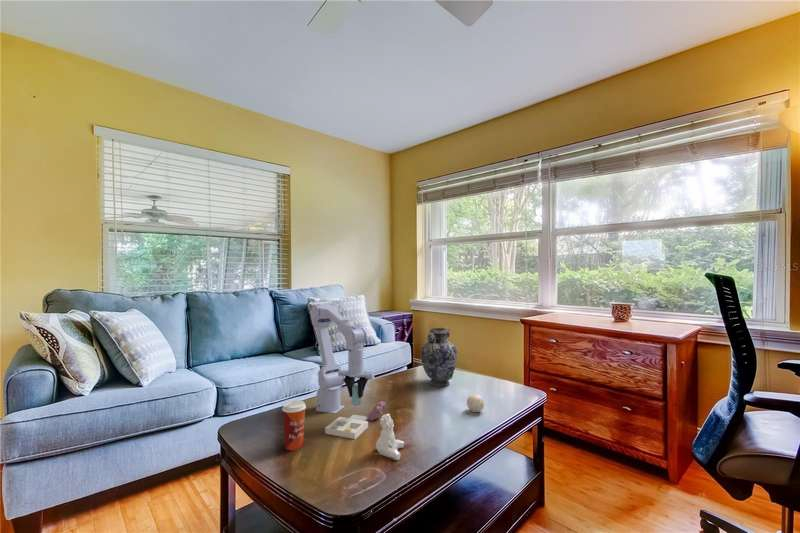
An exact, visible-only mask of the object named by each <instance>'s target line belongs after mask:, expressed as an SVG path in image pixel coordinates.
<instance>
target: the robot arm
mask: <svg viewBox="0 0 800 533" xmlns="http://www.w3.org/2000/svg"><path fill="white" fill-rule="evenodd" d="M310 317H311V323H312V326H313V327H314V328H315V332H316V337H317V342H318V348H319V352H320V359H321V363H322V367H320V369H319V371H318V372H317V376H318V379H317V380H318V381H317V383H318V386H319V388H318V389H317V391H316V409H315V412H323V413H330V414H336V413H338V412H340V411H341V410H342V409H343V408H345V405H341V388H342V387H343V385H344V384H345V385H346V389H347V390H348V394H349V398H352V385H355V381H356V383H357V384H358V396H359V398H360V399H362V397H364V391H365V389H366V385H367V382H368V381H369V380H371V381H373V380H374V379H375V373H374V372H370V371H364V343H365V342H366V341H367V333H366V331H365V329H364V328H363V327H357V326H356V325H355V324H353V323H352V322H351V321H350V319H349V318H344V317H343V316H341V314H340V313H339V311H338V307H337V306H336V305H335V304H334V303H329V304H320V305H318V304H314V305H313V306H312V307H311V311H310ZM332 323H333V324H335V325H336V329H337V331H339V332H340V333H341V335H342V336H343V337H344V342H345V343H346V349H347V352H348V356H347V358H348V362H347V364H348V367H347V368H348V370H347V369H345V370H344V369H342V366H341V365H339V364H338V363H336V360H335V356H334V355H335V354H334V352H333V347H332V341H331V336H330V332H329V326H330V325H331V324H332ZM356 378H357V379H356ZM355 379H356V380H355Z"/></svg>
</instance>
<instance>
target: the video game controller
mask: <svg viewBox="0 0 800 533" xmlns="http://www.w3.org/2000/svg"><path fill="white" fill-rule="evenodd" d="M386 406H387V402H386V401H383V400H380V401H379V402H377V403H376V405H375V406H374V407H373V409H372V412H371V413H369V414H368V416H366V417H367V419H366V421H375V420H376V419H379V418H380V417H381V416H383V415H384V414H383V411H384V410H385V407H386Z"/></svg>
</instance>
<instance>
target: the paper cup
mask: <svg viewBox="0 0 800 533" xmlns="http://www.w3.org/2000/svg"><path fill="white" fill-rule="evenodd" d="M306 408H307V405H306V403H305V402H304V401H303V400H299V399H296V400H290V401H287V402H285V403H284V404H283V405H282V408H281V411H282V414H283V417H282V418H283V430H284V432H283V434H284V444H285V449H286V450H287V451H297V450H300V449H301V448H302V447H303V446H304V439H305V422H306V421H305V420H306Z"/></svg>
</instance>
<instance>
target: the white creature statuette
mask: <svg viewBox="0 0 800 533" xmlns="http://www.w3.org/2000/svg"><path fill="white" fill-rule="evenodd" d="M379 419H380V420H379V424H380V426H381V431H380V436H379V437H378V439H377V441H376V443H375V449H376V451H377V452H378V453H379V454H380V455H381V456H383V457H387V458H388V459H389V458H390V459H392V460H394V461H399V460H400V459H401V453H400V452H399V449H404V447H405V442H404V441H403V440H400V439H398V438H397V439H396V436H395V433H394V427H395V425H394V420H393V419H392V417H391V414H390V413H385V414H382V415H381V416H380V418H379Z"/></svg>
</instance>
